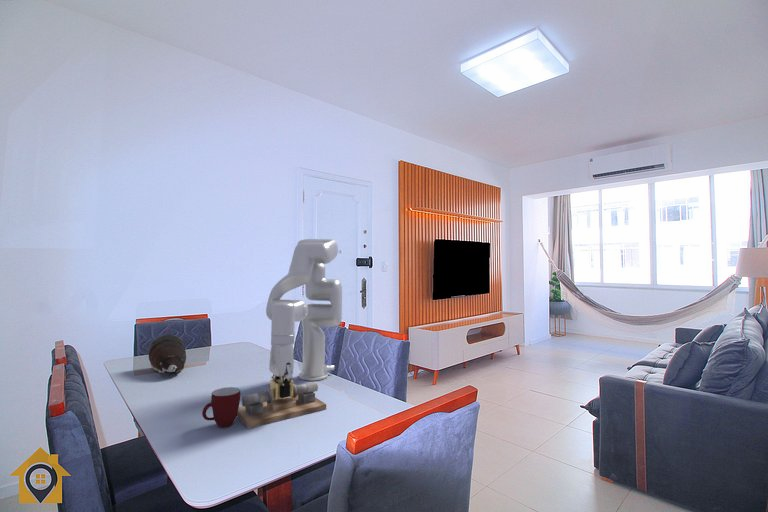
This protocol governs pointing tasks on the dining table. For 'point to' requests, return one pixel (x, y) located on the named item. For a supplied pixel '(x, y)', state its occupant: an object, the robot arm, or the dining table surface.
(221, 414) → the mug
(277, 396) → the block
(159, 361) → the clay pot
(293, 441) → the dining table surface
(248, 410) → the shaft jig
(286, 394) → the robot arm
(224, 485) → the dining table surface
